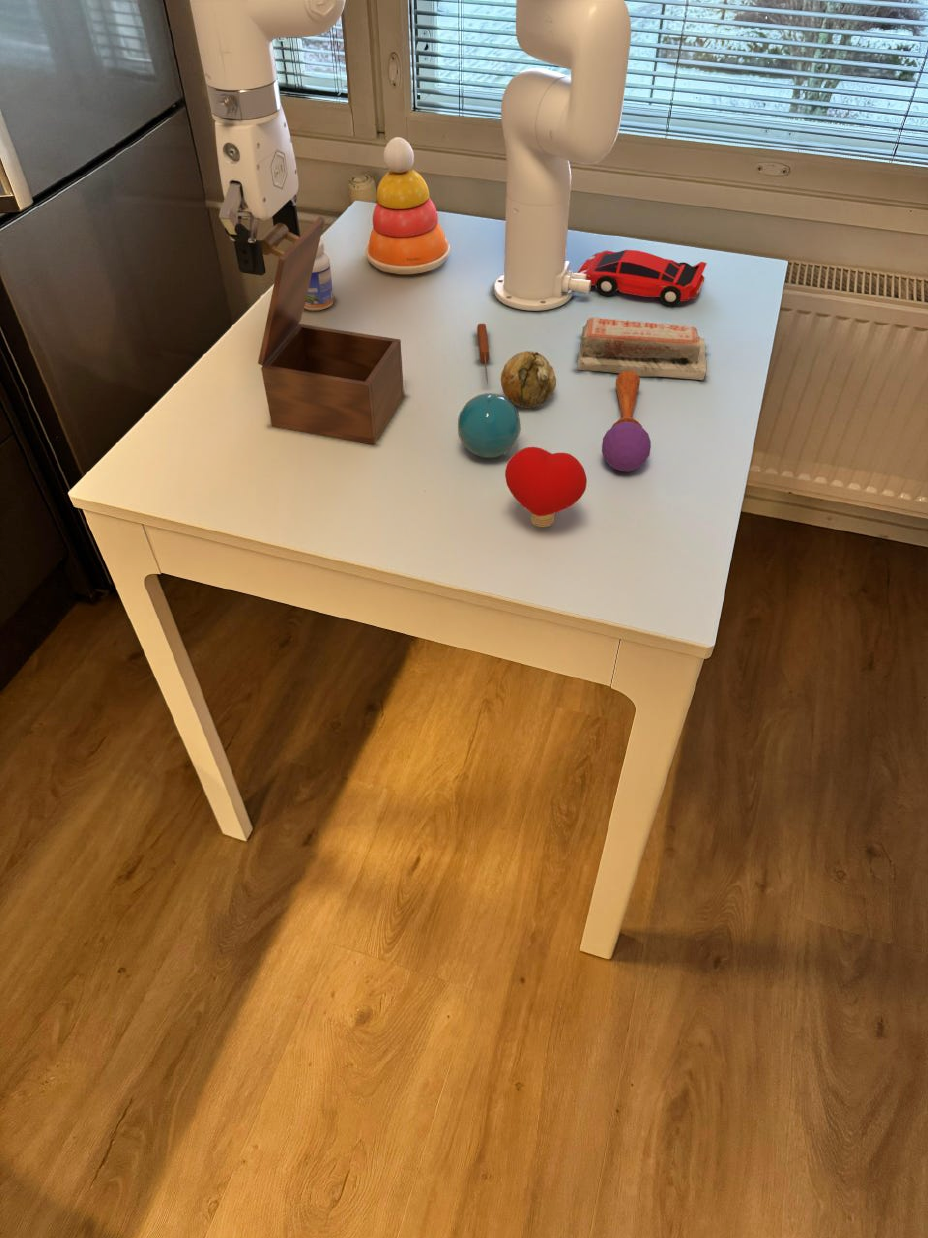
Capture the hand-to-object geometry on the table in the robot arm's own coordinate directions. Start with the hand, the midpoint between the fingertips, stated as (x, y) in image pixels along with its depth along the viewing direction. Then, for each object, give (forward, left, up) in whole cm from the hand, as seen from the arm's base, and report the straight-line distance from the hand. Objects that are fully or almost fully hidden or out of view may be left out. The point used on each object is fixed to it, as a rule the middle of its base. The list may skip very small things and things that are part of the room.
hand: (270, 254), depth 110 cm
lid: (-2, 0, -5) cm, 5 cm away
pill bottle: (+9, -27, -21) cm, 35 cm away
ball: (-28, +3, -21) cm, 36 cm away
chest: (-6, 0, -21) cm, 22 cm away
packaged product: (-43, -25, -21) cm, 54 cm away
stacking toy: (0, -45, -21) cm, 50 cm away
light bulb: (-38, +15, -21) cm, 46 cm away
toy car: (-39, -46, -21) cm, 64 cm away
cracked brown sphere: (-30, -10, -21) cm, 38 cm away
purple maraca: (-44, -6, -21) cm, 50 cm away
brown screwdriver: (-22, -18, -21) cm, 35 cm away
